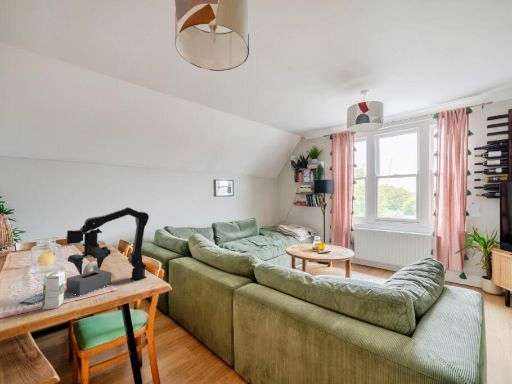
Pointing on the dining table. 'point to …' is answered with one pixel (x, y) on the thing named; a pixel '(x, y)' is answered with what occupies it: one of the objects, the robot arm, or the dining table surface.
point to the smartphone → (33, 299)
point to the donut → (89, 266)
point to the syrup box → (53, 290)
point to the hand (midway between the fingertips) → (90, 271)
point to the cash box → (88, 282)
